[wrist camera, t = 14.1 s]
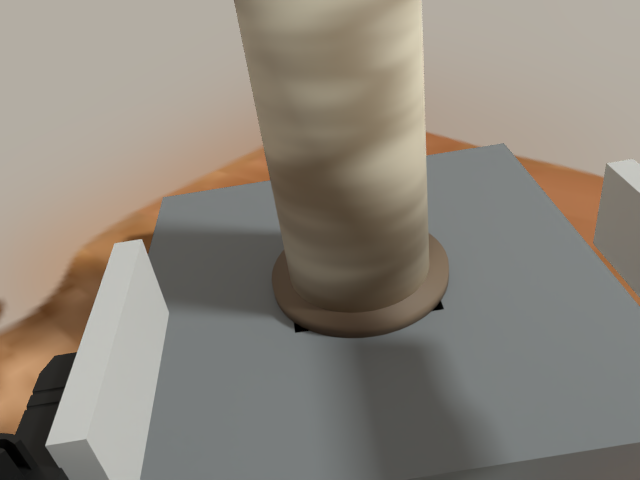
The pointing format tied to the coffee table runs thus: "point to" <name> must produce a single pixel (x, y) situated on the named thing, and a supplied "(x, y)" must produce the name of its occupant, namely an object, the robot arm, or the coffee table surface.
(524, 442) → the leg board
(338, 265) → the ash leg
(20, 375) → the coffee table surface
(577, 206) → the coffee table surface
